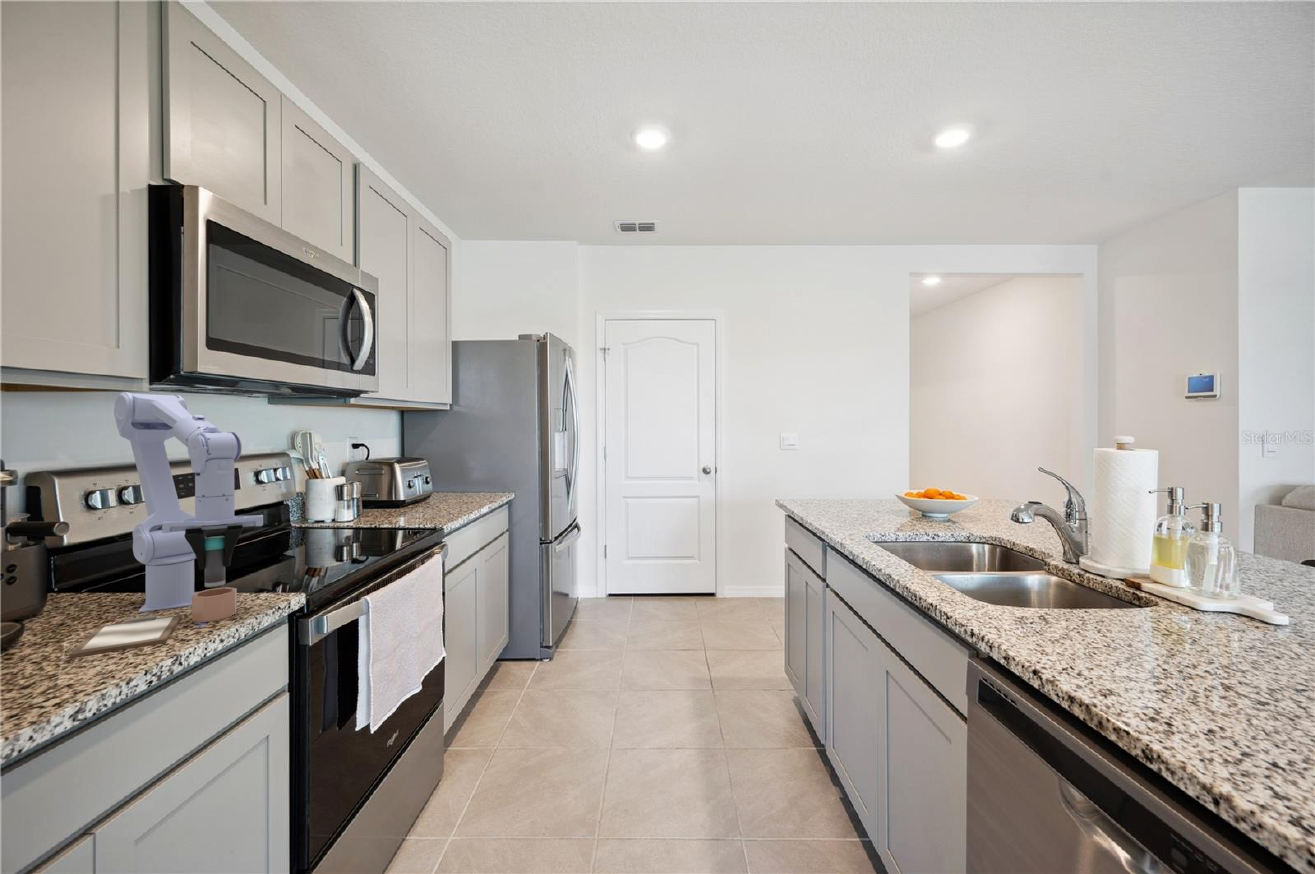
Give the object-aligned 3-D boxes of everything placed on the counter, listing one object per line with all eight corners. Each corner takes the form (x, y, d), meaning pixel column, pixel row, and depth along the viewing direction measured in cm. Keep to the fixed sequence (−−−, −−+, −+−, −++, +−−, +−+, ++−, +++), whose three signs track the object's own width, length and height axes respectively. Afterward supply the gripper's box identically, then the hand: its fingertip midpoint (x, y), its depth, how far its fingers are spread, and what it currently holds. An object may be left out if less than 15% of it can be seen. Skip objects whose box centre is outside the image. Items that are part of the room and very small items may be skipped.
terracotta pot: (196, 614, 101) (196, 590, 101) (237, 608, 104) (237, 585, 104) (190, 624, 95) (190, 599, 95) (234, 617, 99) (234, 593, 99)
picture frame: (98, 629, 93) (98, 623, 93) (181, 617, 99) (181, 611, 99) (69, 658, 81) (69, 650, 81) (165, 642, 87) (165, 635, 87)
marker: (205, 584, 100) (205, 537, 100) (226, 581, 102) (226, 535, 102) (202, 588, 97) (202, 540, 97) (224, 585, 99) (224, 538, 99)
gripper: (158, 500, 92) (158, 577, 92) (261, 495, 100) (261, 566, 100) (167, 496, 98) (167, 568, 98) (263, 491, 106) (263, 558, 106)
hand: (215, 567), depth 100 cm, fingers closed on marker, 3 cm apart
